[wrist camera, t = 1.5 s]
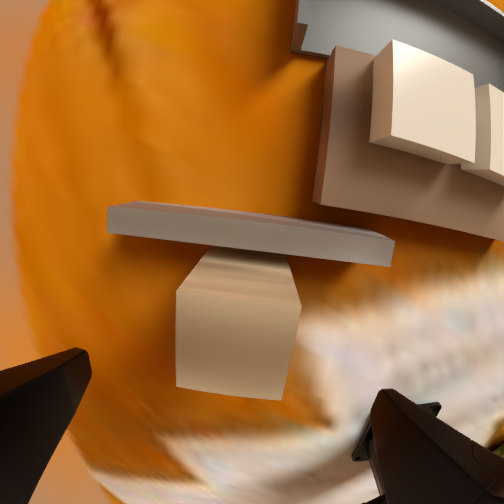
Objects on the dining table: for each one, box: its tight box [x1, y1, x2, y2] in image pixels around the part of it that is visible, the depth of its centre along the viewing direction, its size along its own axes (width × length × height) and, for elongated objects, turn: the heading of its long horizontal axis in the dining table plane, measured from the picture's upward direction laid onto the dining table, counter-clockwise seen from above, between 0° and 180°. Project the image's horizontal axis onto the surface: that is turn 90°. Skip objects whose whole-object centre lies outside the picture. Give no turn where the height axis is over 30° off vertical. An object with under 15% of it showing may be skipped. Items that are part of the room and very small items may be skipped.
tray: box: [291, 0, 504, 92], centre depth 11 cm, size 8×18×4 cm, turn 83°
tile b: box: [369, 39, 476, 164], centre depth 10 cm, size 4×4×2 cm
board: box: [312, 46, 504, 242], centre depth 13 cm, size 8×14×2 cm, turn 83°
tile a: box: [461, 83, 504, 186], centre depth 10 cm, size 4×4×2 cm
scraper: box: [107, 201, 395, 400], centre depth 13 cm, size 6×13×7 cm, turn 83°
